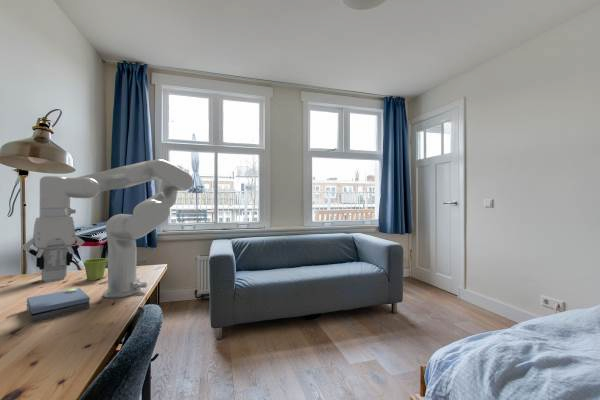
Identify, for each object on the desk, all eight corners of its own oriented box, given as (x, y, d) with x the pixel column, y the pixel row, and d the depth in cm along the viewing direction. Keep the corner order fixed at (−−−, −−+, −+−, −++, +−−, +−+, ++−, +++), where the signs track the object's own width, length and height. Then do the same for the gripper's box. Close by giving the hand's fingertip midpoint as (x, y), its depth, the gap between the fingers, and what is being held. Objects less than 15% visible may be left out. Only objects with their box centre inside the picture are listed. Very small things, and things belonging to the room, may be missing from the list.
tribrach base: (79, 297, 100) (79, 292, 100) (89, 307, 91) (89, 302, 91) (26, 309, 89) (26, 304, 89) (32, 322, 80) (32, 316, 80)
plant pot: (88, 276, 127) (88, 258, 127) (110, 275, 130) (111, 257, 130) (78, 282, 118) (78, 263, 118) (103, 280, 121) (103, 261, 121)
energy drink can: (67, 276, 92) (67, 233, 92) (65, 280, 88) (65, 235, 88) (43, 279, 89) (44, 235, 89) (40, 284, 84) (40, 237, 84)
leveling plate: (79, 292, 100) (79, 286, 100) (89, 301, 91) (89, 295, 91) (26, 302, 89) (27, 295, 89) (32, 314, 80) (32, 307, 80)
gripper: (84, 212, 97) (84, 260, 97) (16, 213, 84) (16, 270, 84) (90, 212, 92) (90, 264, 92) (18, 214, 79) (18, 274, 79)
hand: (54, 266), depth 88 cm, fingers closed on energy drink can, 6 cm apart
